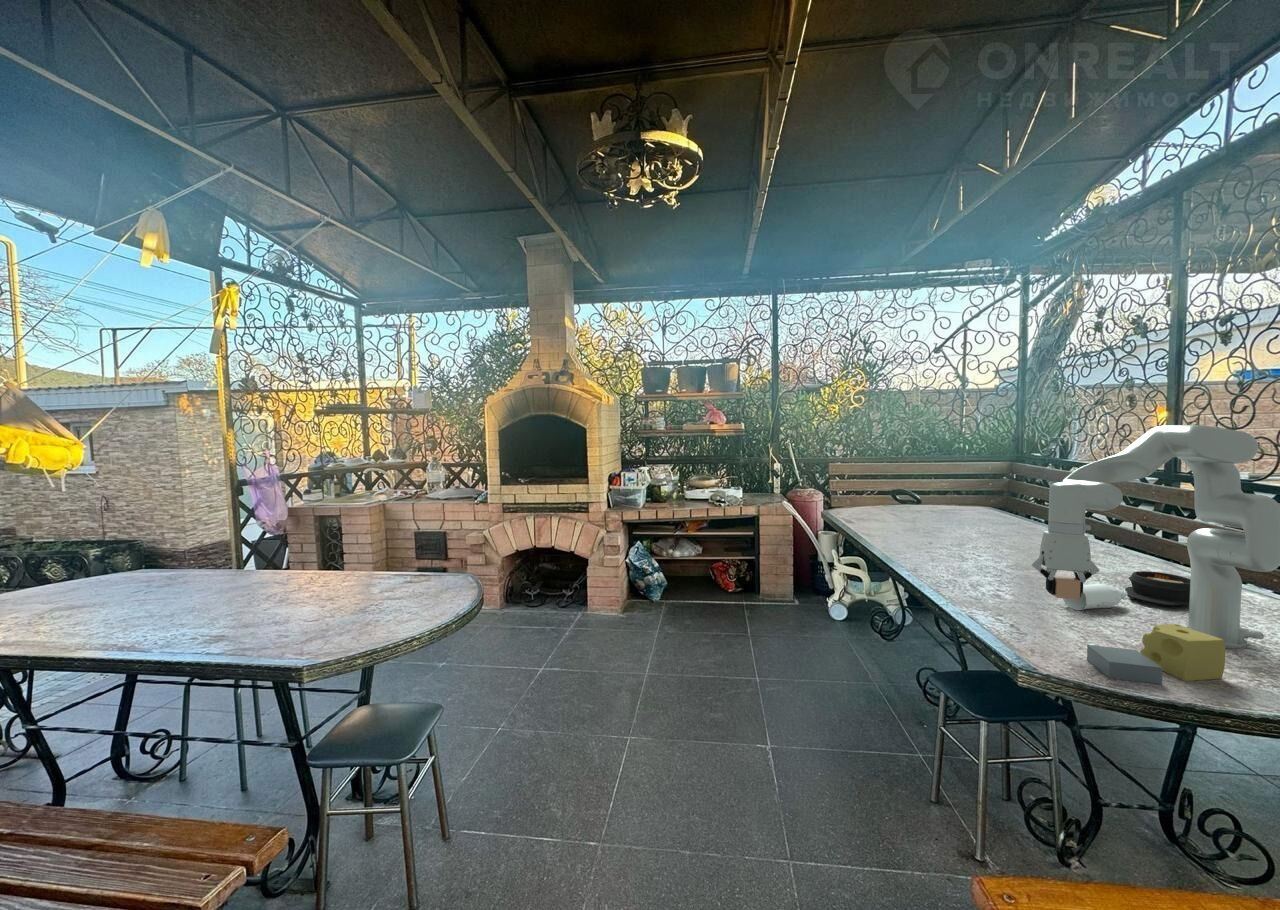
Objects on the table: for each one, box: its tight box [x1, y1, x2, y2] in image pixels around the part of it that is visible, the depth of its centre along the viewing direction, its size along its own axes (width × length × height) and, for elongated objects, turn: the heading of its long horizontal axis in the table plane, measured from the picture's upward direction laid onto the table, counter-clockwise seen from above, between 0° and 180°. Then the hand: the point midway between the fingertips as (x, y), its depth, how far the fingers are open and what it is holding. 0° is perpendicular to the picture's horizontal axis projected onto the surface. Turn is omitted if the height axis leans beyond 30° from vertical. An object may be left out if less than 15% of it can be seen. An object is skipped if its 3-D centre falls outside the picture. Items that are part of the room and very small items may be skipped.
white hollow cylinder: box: [1061, 583, 1127, 611], centre depth 167 cm, size 8×19×8 cm, turn 99°
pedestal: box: [1086, 644, 1163, 685], centre depth 123 cm, size 10×10×4 cm
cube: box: [1053, 574, 1081, 600], centre depth 135 cm, size 5×5×5 cm
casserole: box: [1124, 570, 1191, 607], centre depth 173 cm, size 25×19×8 cm
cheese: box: [1139, 623, 1226, 682], centre depth 123 cm, size 10×11×10 cm
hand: (1063, 593), depth 135 cm, fingers closed on cube, 5 cm apart
